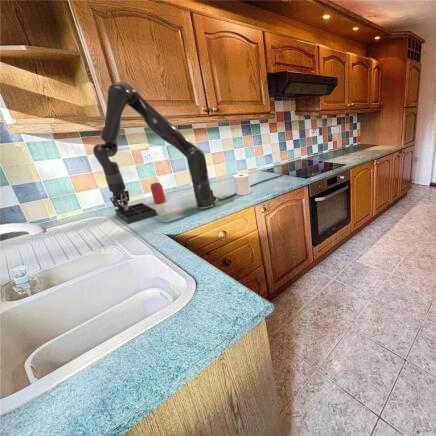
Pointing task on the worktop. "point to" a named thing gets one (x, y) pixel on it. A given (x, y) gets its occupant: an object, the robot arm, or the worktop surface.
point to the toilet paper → (242, 184)
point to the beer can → (157, 193)
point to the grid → (136, 213)
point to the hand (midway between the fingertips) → (124, 211)
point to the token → (125, 207)
